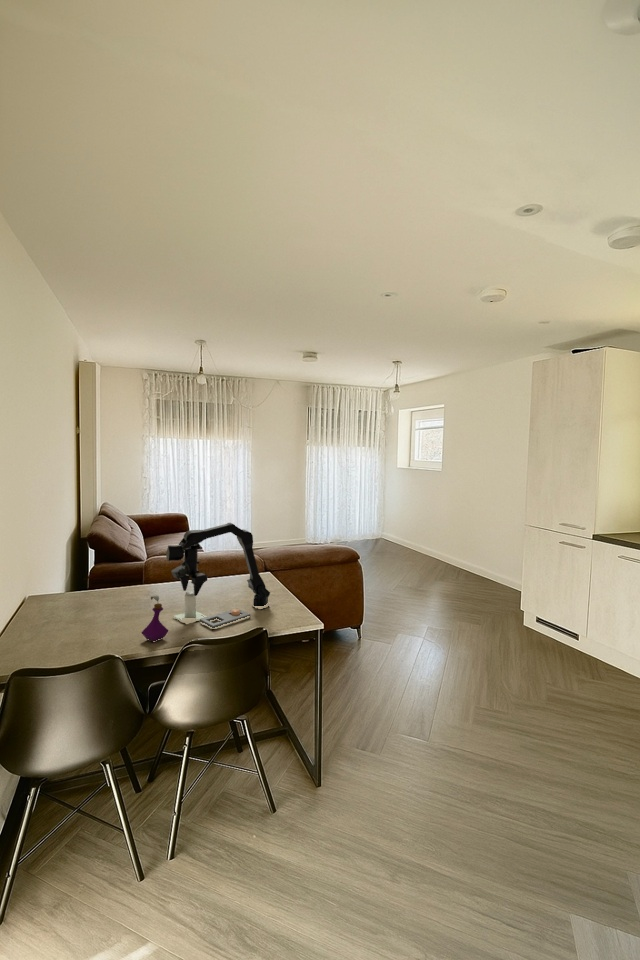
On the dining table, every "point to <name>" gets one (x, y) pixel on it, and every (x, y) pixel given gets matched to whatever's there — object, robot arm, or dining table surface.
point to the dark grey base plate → (223, 618)
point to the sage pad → (198, 616)
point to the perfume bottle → (155, 624)
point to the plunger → (235, 612)
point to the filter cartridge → (190, 605)
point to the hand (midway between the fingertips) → (190, 593)
